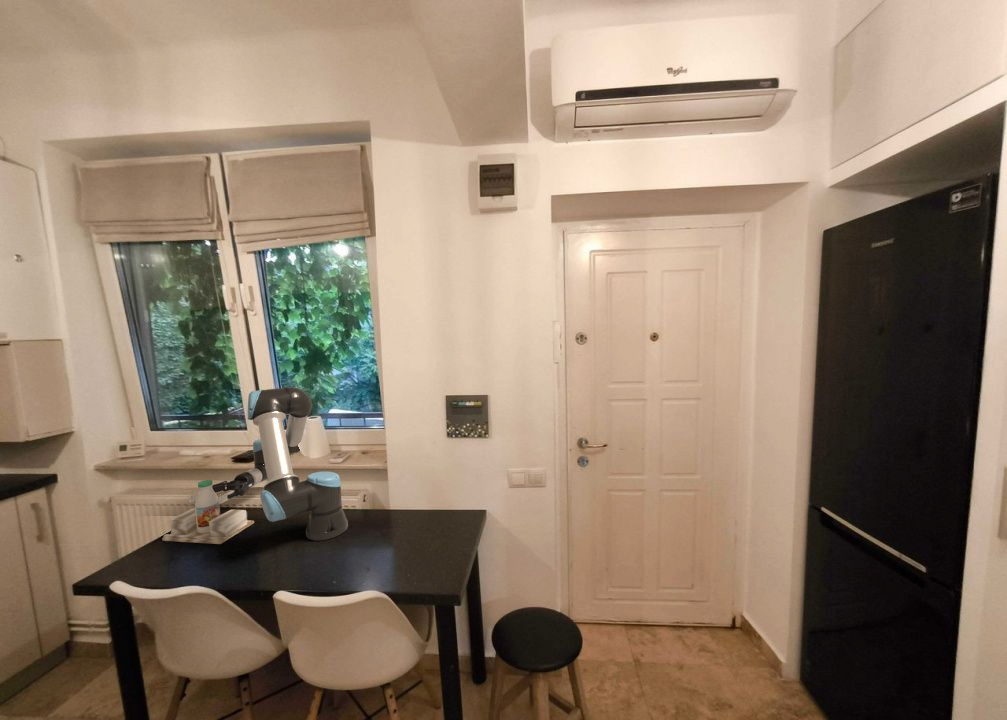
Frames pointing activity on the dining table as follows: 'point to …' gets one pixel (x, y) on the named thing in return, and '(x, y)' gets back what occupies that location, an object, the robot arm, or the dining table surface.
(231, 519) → the rail board
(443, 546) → the dining table surface
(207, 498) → the milk bottle
